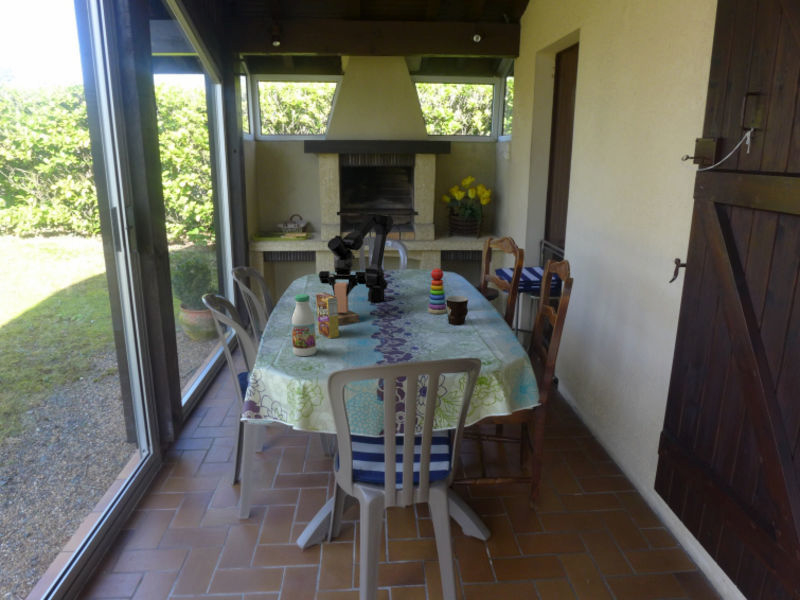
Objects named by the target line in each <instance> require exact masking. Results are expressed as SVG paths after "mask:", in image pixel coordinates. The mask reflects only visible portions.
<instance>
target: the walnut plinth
mask: <svg viewBox="0 0 800 600" xmlns="http://www.w3.org/2000/svg"><path fill="white" fill-rule="evenodd" d="M354 322H356V323H360V315H359V313H356V312H354V311H352V310H350V309H348V311H347V313H346V312H338V327H339V325H340V326H344V325H345V326H346V325H350V323H351V324H355V323H354Z"/></svg>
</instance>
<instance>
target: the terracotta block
mask: <svg viewBox="0 0 800 600" xmlns="http://www.w3.org/2000/svg"><path fill="white" fill-rule="evenodd" d="M347 287H348V282H336V284H335V285H334V291H335V297H337V305H338V312H346V313H347V311H348V310H349V295H348V296H346V291H347Z"/></svg>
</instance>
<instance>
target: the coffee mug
mask: <svg viewBox="0 0 800 600" xmlns="http://www.w3.org/2000/svg"><path fill="white" fill-rule="evenodd" d="M445 299H446V302H445V303H446V308H447V311H446V313H447V322H448V325H450V324H452V326H457V325H458V326H462V325H461V324H464V323H466V319H467V315H468V312H469V311H468V309H469V308H468V303H469V298H468V297H467V296H461V295H451V296H447V297H445ZM464 325H465V324H464Z"/></svg>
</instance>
